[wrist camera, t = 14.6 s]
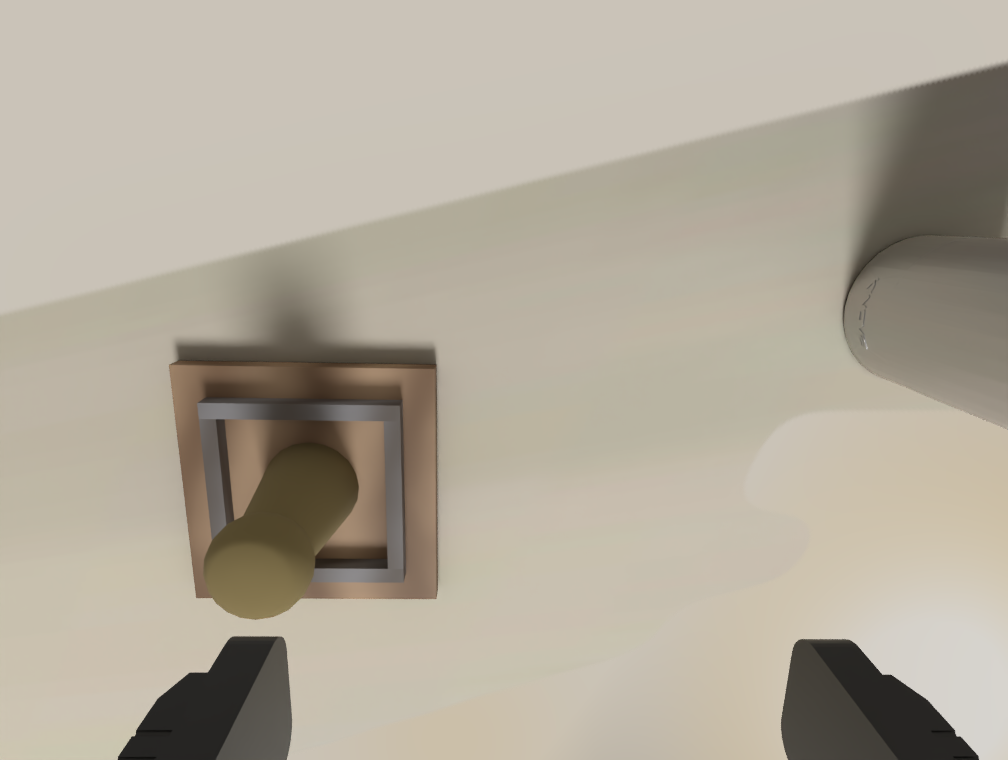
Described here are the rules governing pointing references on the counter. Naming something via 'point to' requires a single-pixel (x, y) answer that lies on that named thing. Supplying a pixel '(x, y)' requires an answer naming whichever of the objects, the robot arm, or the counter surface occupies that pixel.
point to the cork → (281, 532)
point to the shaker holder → (334, 423)
